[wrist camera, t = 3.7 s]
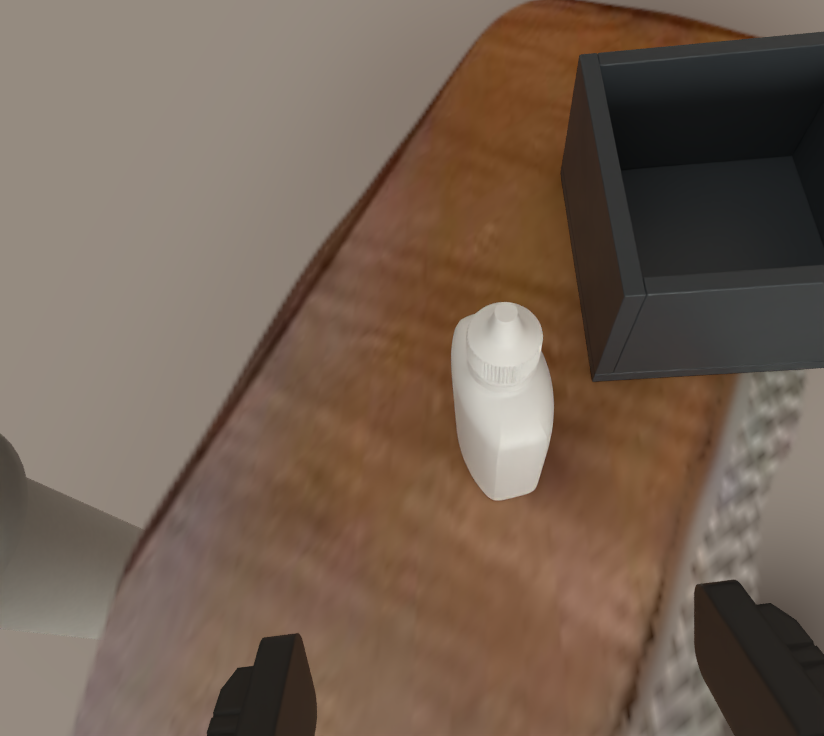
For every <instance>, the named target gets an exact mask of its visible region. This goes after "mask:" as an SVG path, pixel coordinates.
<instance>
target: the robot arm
mask: <svg viewBox="0 0 824 736" xmlns="http://www.w3.org/2000/svg"><path fill="white" fill-rule="evenodd" d="M694 645H695V653H696V658H697V662H698V665H699V669H700V671H701V674H702V676H703V678H704V680H705V682H706V684H707V686H708V688H709V690H710V691H711V693H712V695H713V697H714V699H715V701H716V702H717V704H718V706H719V708H720V710H721V712H722V713H723V715H724V717H725V719H726V721H727V723H728V724H729V726H730V728H731V730H732V732H733V733H734V735H735V736H824V654H823V653H822V652H821V650H820V649H819V648H818V647H817V646H815V645H814V643H813V640H812V639H811V638H810V637H809V636H808V634H807V633H806V632H805V630H804V629H803V628H802V627H801V626H800V624H799V623H798V622H797V621H796V620H795V619H794V618H792V617H791V616H789V615H788V614H786V613H785V612H783V611H782V610H780V609H779V608H777V607H776V606H774V605H773V604H771V603H768V604H759V605H756V604H755V603H754V601H753V600H752V599H751V597H750V596H749V595H748V593H747V592H746V591H745V589H744V588H743V586H742V585H741V584H740V583H739V582H738V581H737V580H727V581H719V582H712V583H704V584H697V585H696V587H695V591H694ZM316 721H317V703H316V694H315V689H314V685H313V681H312V677H311V673H310V668H309V664H308V660H307V656H306V652H305V648H304V644H303V641H302V638H301V636H300V634H299V633H296V634H288V635H280V636H272V637H264V638H262V640H261V642H260V645H259V648H258V652H257V655H256V659H255V662H254V666H249V667H241V668H237V669H236V671H235V672H234V673H233V675H232V676H231V677H230V678H229V680H228V681H227V682H226V684H225V685H224V686H223V687H222V689H221V691H220V694H219V697H218V700H217V703H216V706H215V709H214V712H213V718H211V721H210V724H209V727H208V730H207V736H315V729H316Z"/></svg>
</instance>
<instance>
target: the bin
mask: <svg viewBox="0 0 824 736" xmlns="http://www.w3.org/2000/svg"><path fill="white" fill-rule="evenodd" d="M561 180H562V187H563V193H564V200H565V206H566V213H567V219H568V226H569V232H570V239H571V246H572V252H573V259H574V265H575V272H576V278H577V285H578V291H579V298H580V304H581V311H582V317H583V324H584V331H585V337H586V344H587V350H588V357H589V363H590V370H591V376H592V381H610V380H627V379H644V378H661V377H678V376H695V375H711V374H728V373H745V372H762V371H779V370H796V369H813V368H824V32H816V33H806V34H795V35H784V36H773V37H763V38H752V39H742V40H731V41H721V42H710V43H699V44H689V45H678V46H668V47H657V48H646V49H636V50H625V51H615V52H604V53H598V55H597V53H593V54H582V55H580V56H579V61H578V67H577V73H576V80H575V86H574V92H573V98H572V105H571V111H570V117H569V123H568V130H567V136H566V142H565V149H564V155H563V161H562V167H561Z"/></svg>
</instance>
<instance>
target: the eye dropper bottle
mask: <svg viewBox="0 0 824 736" xmlns="http://www.w3.org/2000/svg"><path fill="white" fill-rule="evenodd" d="M542 333H543V331H542V328H541V324H539V321H538V320H537V318H536V317H535V315H533V313H532V312H530V310H527V308H524V307H523V306H520V305H517V304H514V303H510V302H500V303H493V304H491V305H489V306H485V307H484V308H482V309H481V310H479V312H476V314H473V315H470V316H467V317H465V318H463V319H462V320H460V322H459V323H458V325H457V326H456V328H455V332H454V335H453V341H452V349H451V370H452V383H453V394H454V406H455V417H456V427H457V435H458V441H459V445H460V449H461V452H462V455H463V458H464V461H465V463H466V465H467V468H468V469H469V471H470V473H471V475H472V477H473V478H474V480H475V481H476V483H477V484H478V486H479V487H480V488H481V490H482V491H483V492H484V493H485V494H486V495H487V496H488V497H489V498H491V499H492V500H499V501H501V500H505V499H510V498H514V497H518V496H521V495H525V494H528V493H530V492H532V491H534V490H535V488H536V486H537V484H538V481H539V478H540V474H541V471H542V468H543V464H544V461H545V457H546V454H547V450H548V447H549V442H550V438H551V433H552V428H553V417H554V397H553V387H552V381H551V377H550V373H549V369H548V366H547V363H546V360H545V358H544V355H543V353H542V351H541V347H542V341H543V334H542Z"/></svg>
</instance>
